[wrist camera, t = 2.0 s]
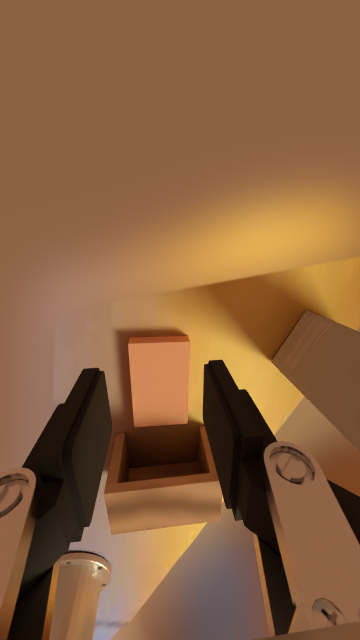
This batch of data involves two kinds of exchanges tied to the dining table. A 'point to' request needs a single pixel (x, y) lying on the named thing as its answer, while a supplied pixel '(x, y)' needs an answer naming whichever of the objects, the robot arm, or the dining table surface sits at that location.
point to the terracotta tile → (159, 379)
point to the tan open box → (161, 491)
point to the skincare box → (325, 370)
